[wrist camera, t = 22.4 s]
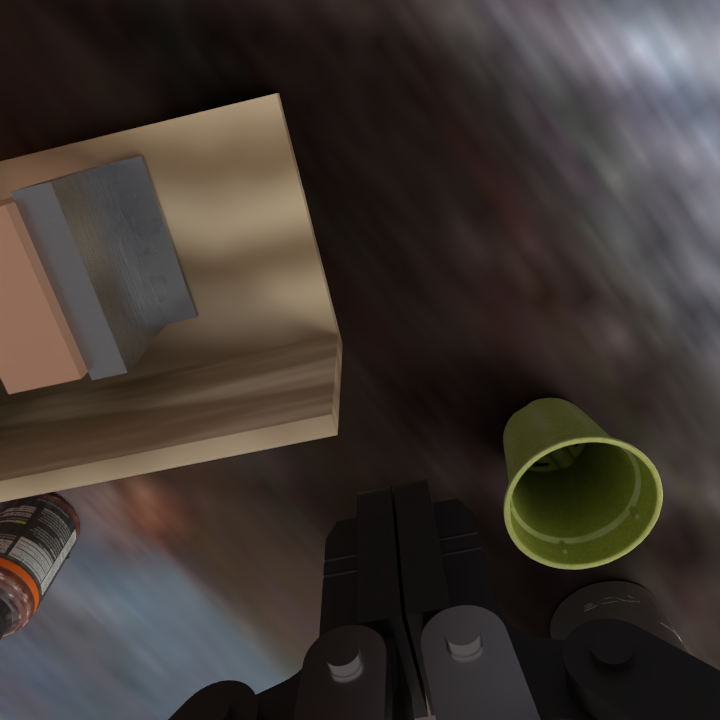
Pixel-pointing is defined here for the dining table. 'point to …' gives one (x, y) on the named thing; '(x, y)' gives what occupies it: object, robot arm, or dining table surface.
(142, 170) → the bookend
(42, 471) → the rack
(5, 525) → the supplement bottle
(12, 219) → the tan rectangular block
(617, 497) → the plant pot
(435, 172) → the dining table surface
